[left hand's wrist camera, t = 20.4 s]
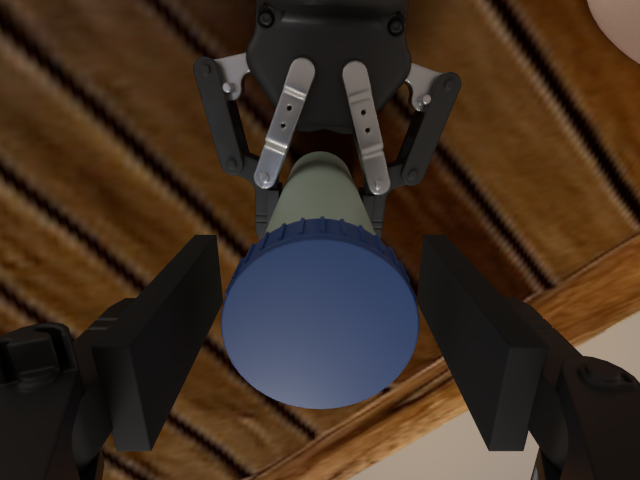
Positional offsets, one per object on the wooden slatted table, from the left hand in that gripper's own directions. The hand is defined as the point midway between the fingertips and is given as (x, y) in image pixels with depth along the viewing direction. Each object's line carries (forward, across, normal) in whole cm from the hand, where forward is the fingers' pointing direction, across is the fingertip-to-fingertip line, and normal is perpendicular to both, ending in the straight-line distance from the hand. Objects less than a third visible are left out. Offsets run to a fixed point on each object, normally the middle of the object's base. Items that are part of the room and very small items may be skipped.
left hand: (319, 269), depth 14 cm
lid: (-4, 0, 0) cm, 4 cm away
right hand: (+9, 0, -3) cm, 9 cm away
